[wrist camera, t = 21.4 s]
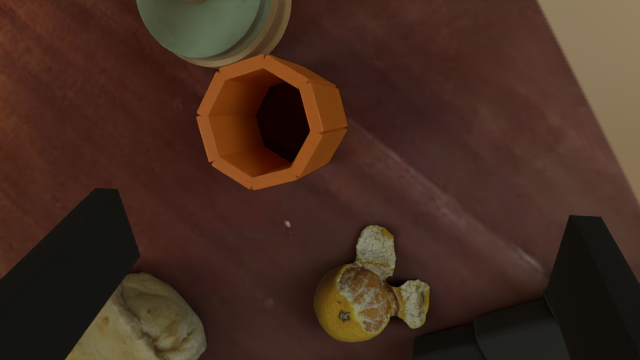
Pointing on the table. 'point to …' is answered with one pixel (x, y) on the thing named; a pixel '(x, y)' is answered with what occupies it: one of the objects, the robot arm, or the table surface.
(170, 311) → the pastry
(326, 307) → the fruit
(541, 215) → the table surface
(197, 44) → the stacking base
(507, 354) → the handheld device
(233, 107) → the orange octagonal tube
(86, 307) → the robot arm
